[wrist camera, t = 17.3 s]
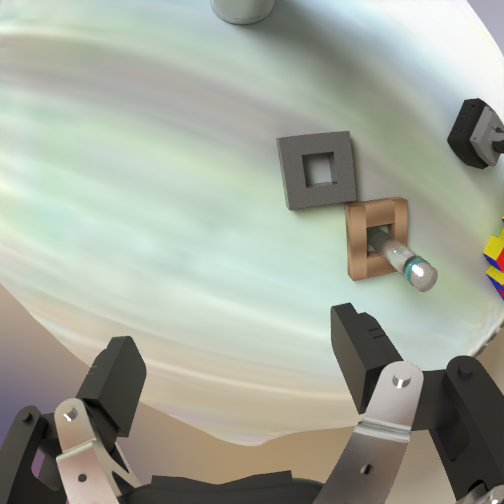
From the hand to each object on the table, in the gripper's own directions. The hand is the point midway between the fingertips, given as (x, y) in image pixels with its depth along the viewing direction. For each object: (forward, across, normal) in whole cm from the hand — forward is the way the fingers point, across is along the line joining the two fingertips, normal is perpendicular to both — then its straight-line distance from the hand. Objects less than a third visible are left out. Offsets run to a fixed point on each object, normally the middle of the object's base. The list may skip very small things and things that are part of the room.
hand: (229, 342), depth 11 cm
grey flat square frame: (+32, -12, -2) cm, 34 cm away
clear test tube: (+32, -21, +10) cm, 40 cm away
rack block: (+32, -21, +10) cm, 40 cm away
